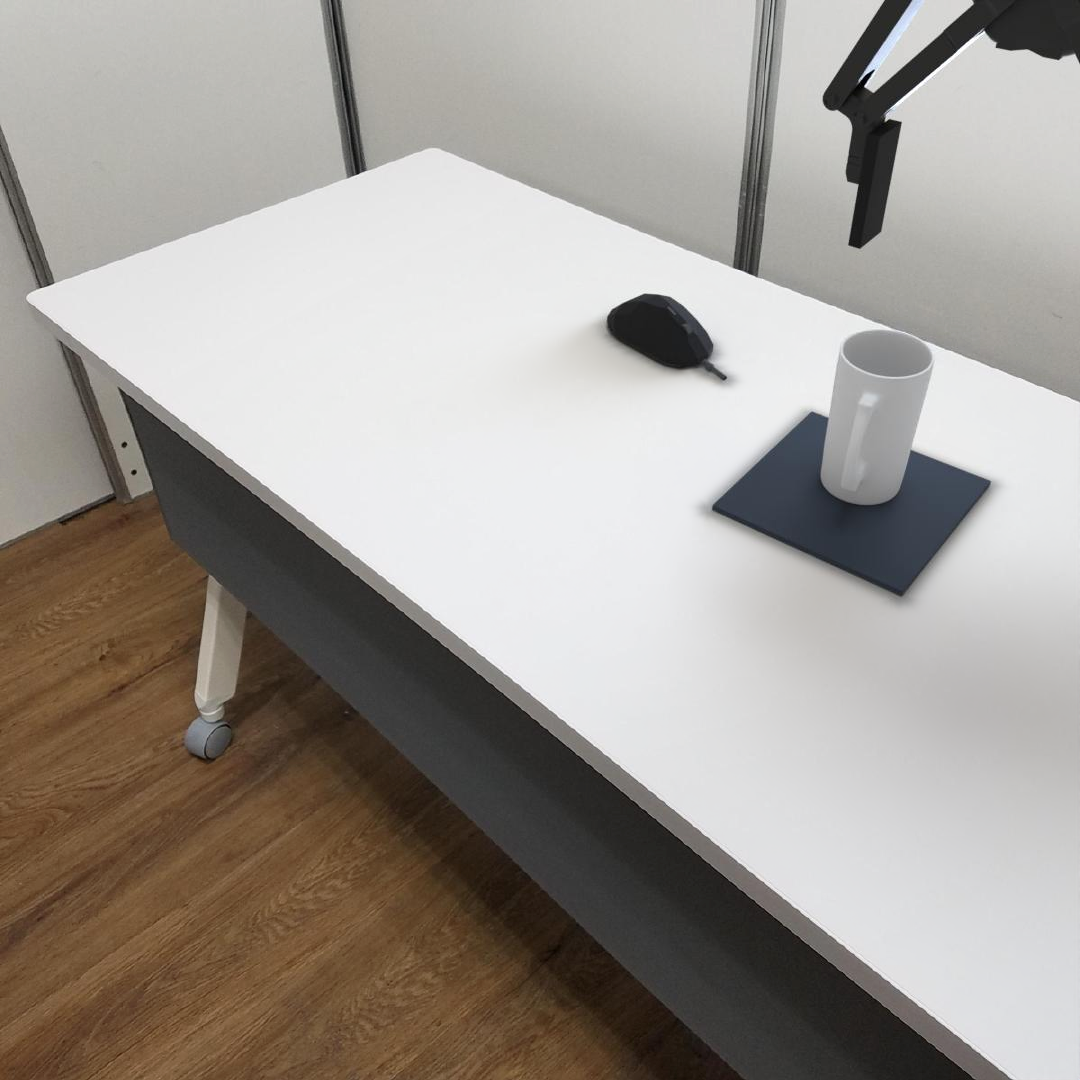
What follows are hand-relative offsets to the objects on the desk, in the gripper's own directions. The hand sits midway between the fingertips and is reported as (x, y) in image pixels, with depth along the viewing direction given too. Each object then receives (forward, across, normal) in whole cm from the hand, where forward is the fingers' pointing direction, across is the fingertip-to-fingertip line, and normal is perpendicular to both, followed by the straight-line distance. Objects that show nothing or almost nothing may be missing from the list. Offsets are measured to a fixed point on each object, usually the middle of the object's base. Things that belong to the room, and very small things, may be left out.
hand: (977, 272), depth 63 cm
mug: (+26, +8, -10) cm, 29 cm away
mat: (+26, +8, -10) cm, 29 cm away
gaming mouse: (+26, +32, -20) cm, 46 cm away
